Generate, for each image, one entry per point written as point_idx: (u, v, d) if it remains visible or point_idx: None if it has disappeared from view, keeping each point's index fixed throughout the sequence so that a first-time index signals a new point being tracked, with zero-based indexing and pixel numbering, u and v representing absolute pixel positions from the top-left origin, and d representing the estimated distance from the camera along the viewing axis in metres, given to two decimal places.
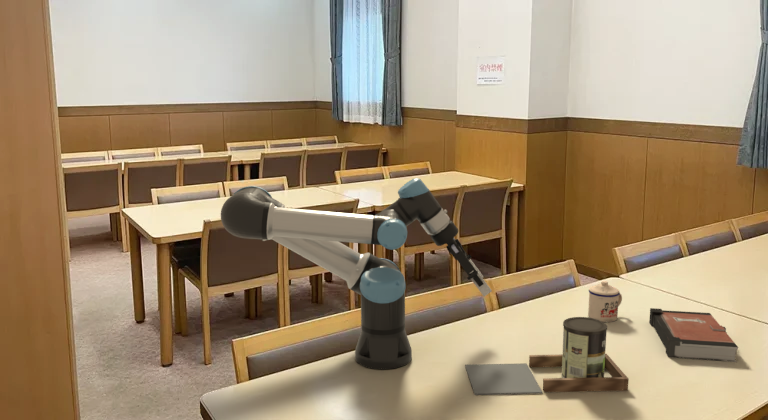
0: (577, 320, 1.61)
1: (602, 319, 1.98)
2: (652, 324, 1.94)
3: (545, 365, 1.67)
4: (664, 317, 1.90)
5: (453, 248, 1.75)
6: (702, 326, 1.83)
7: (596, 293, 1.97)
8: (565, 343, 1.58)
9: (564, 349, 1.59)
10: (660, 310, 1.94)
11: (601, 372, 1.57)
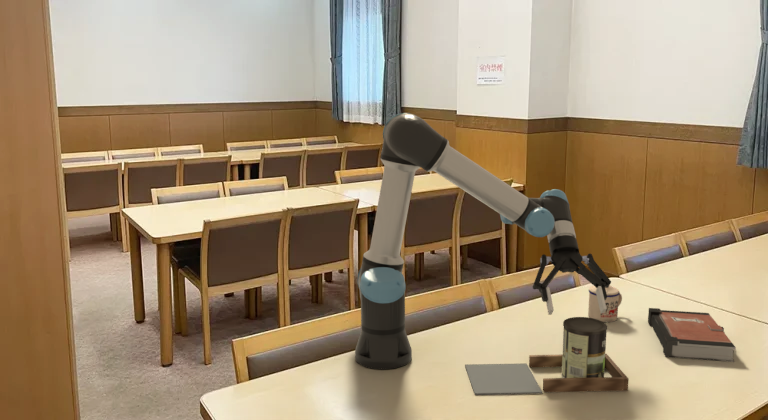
0: (577, 320, 1.61)
1: (602, 319, 1.98)
2: (650, 324, 1.94)
3: (545, 365, 1.67)
4: (662, 317, 1.90)
5: None
6: (700, 326, 1.83)
7: None
8: (565, 343, 1.58)
9: (564, 349, 1.59)
10: (658, 310, 1.95)
11: (601, 372, 1.57)
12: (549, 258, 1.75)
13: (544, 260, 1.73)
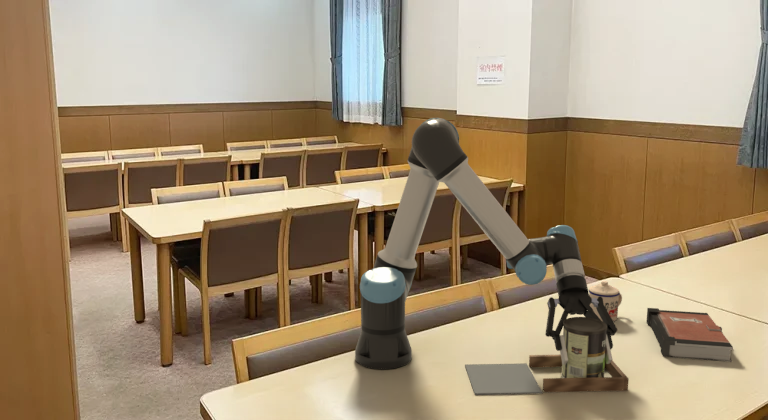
0: (577, 320, 1.61)
1: None
2: (649, 324, 1.94)
3: (545, 365, 1.67)
4: (661, 317, 1.90)
5: None
6: (698, 326, 1.83)
7: (596, 293, 1.97)
8: (565, 343, 1.58)
9: None
10: (657, 310, 1.95)
11: (601, 372, 1.57)
12: (557, 300, 1.65)
13: (552, 304, 1.64)
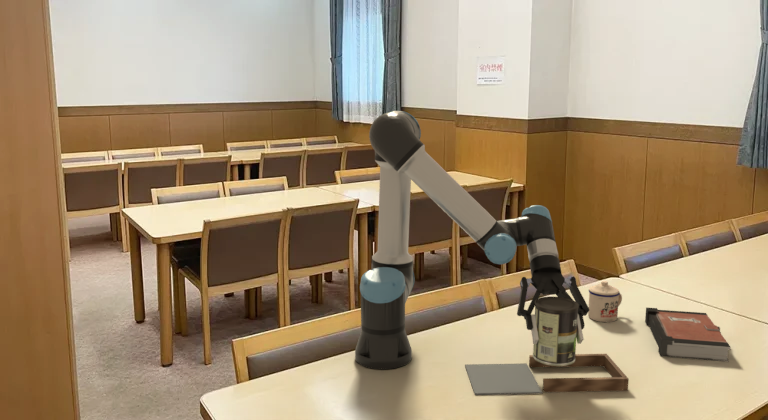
0: (549, 300, 1.59)
1: (602, 319, 1.98)
2: (647, 323, 1.95)
3: (545, 365, 1.67)
4: (659, 316, 1.91)
5: None
6: (696, 325, 1.83)
7: (596, 293, 1.97)
8: (536, 323, 1.56)
9: None
10: (656, 309, 1.95)
11: (572, 351, 1.55)
12: (529, 280, 1.64)
13: (525, 283, 1.62)
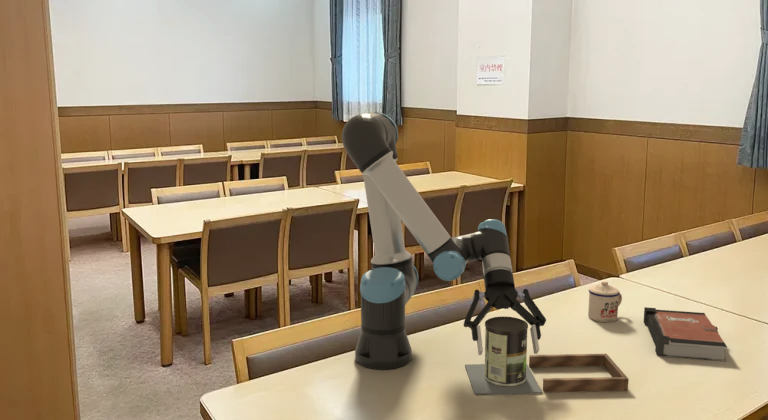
0: (500, 320, 1.60)
1: (602, 319, 1.98)
2: (646, 323, 1.95)
3: (545, 365, 1.67)
4: (657, 316, 1.91)
5: None
6: (694, 325, 1.83)
7: (596, 293, 1.97)
8: (486, 343, 1.58)
9: (486, 349, 1.58)
10: (654, 309, 1.95)
11: (522, 371, 1.56)
12: (482, 293, 1.65)
13: (477, 296, 1.64)
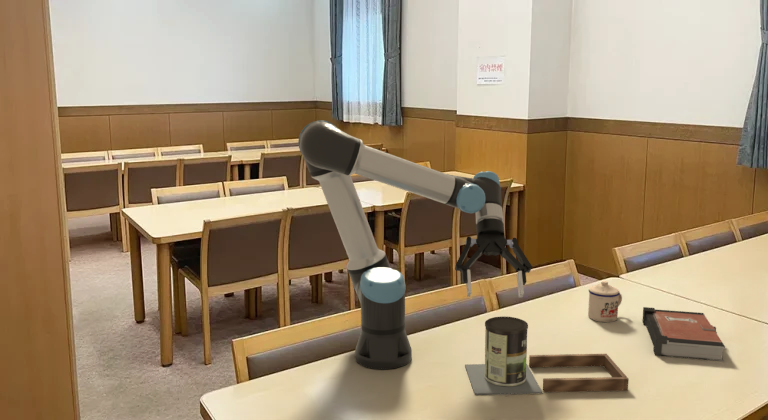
0: (500, 320, 1.60)
1: (602, 319, 1.98)
2: (644, 323, 1.95)
3: (545, 365, 1.67)
4: (656, 316, 1.91)
5: None
6: (692, 325, 1.83)
7: (596, 293, 1.97)
8: (486, 343, 1.58)
9: (486, 349, 1.58)
10: (653, 309, 1.95)
11: (522, 371, 1.56)
12: (474, 240, 1.76)
13: (468, 242, 1.75)
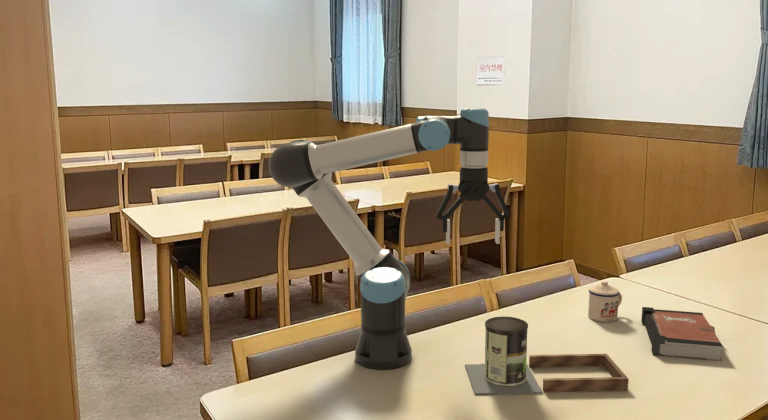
0: (500, 320, 1.60)
1: (602, 319, 1.98)
2: (643, 323, 1.95)
3: (545, 365, 1.67)
4: (655, 316, 1.91)
5: (498, 185, 1.75)
6: (691, 325, 1.84)
7: (596, 293, 1.97)
8: (486, 343, 1.58)
9: (486, 349, 1.58)
10: (652, 309, 1.95)
11: (522, 371, 1.56)
12: (456, 187, 1.75)
13: (450, 191, 1.74)
